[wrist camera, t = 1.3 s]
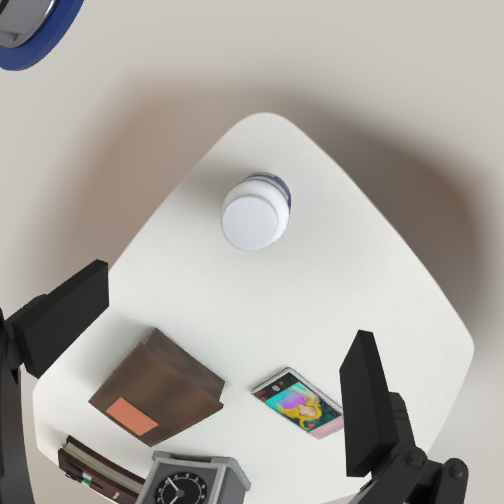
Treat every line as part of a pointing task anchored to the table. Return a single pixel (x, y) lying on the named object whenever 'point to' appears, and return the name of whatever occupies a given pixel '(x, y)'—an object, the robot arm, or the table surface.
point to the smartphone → (301, 404)
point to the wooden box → (158, 391)
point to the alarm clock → (193, 481)
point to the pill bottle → (256, 212)
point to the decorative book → (99, 472)
